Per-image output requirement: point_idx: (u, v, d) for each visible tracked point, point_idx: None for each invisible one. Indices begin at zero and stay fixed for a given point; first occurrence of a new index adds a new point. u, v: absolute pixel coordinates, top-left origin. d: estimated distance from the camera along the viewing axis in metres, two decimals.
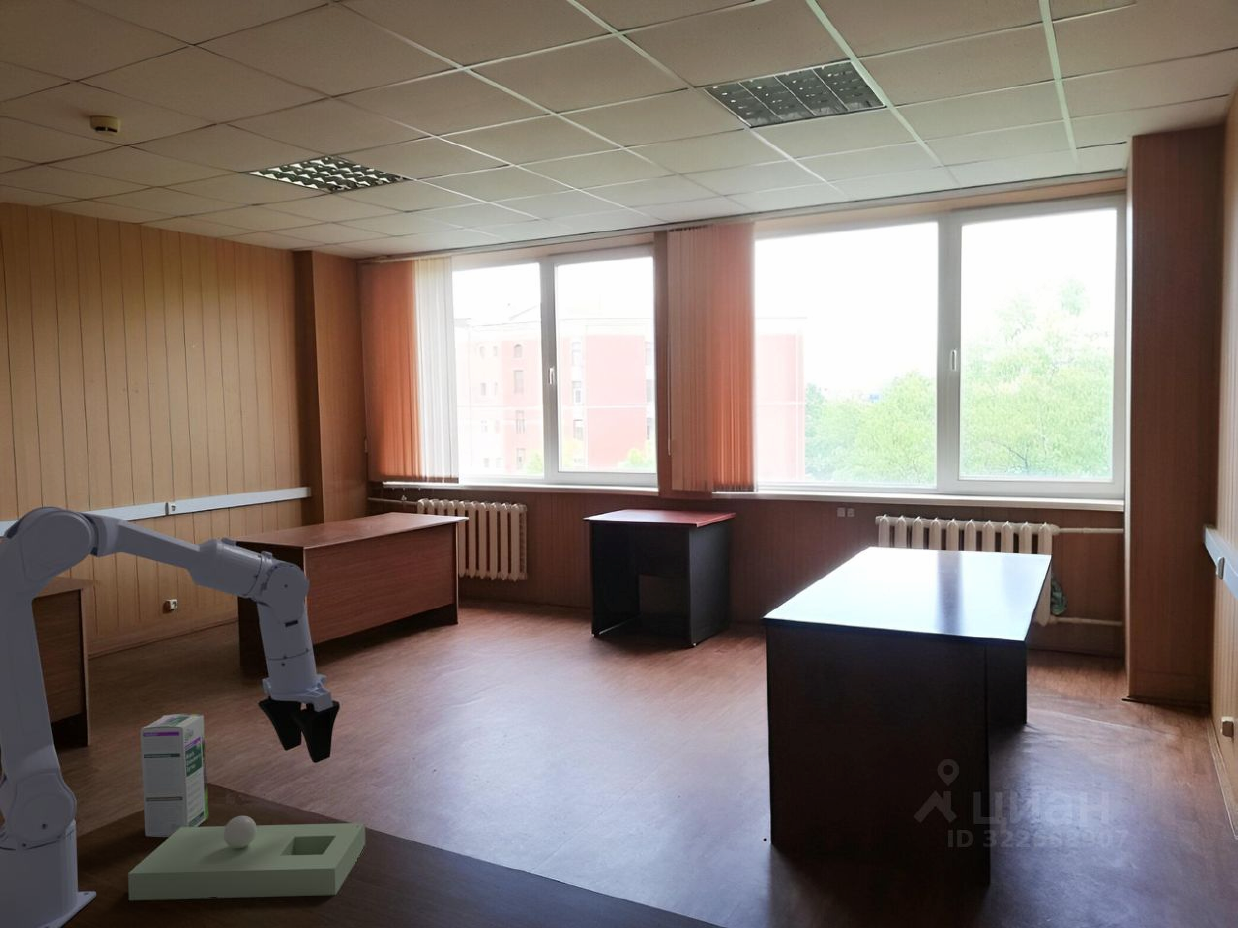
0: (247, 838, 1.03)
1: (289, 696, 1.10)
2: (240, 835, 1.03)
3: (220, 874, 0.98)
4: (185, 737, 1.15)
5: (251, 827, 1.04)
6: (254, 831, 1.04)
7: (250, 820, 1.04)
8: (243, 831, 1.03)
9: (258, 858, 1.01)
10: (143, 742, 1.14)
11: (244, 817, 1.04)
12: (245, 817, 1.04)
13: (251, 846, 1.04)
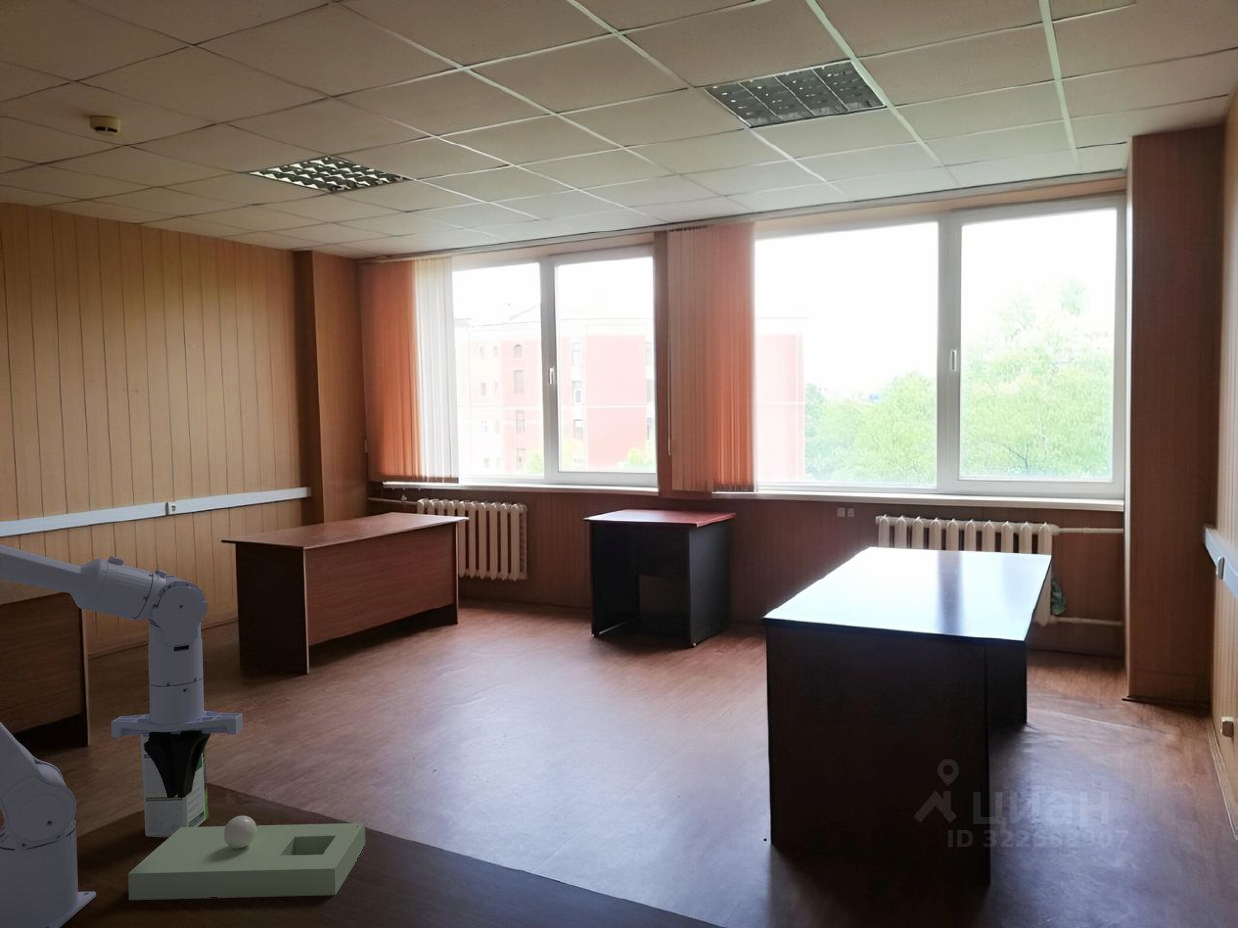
0: (247, 838, 1.03)
1: (192, 724, 1.02)
2: (240, 835, 1.03)
3: (220, 874, 0.98)
4: None
5: (251, 827, 1.04)
6: (254, 831, 1.04)
7: (250, 820, 1.04)
8: (243, 831, 1.03)
9: (258, 858, 1.01)
10: (143, 742, 1.14)
11: (244, 817, 1.04)
12: (245, 817, 1.04)
13: (251, 846, 1.04)
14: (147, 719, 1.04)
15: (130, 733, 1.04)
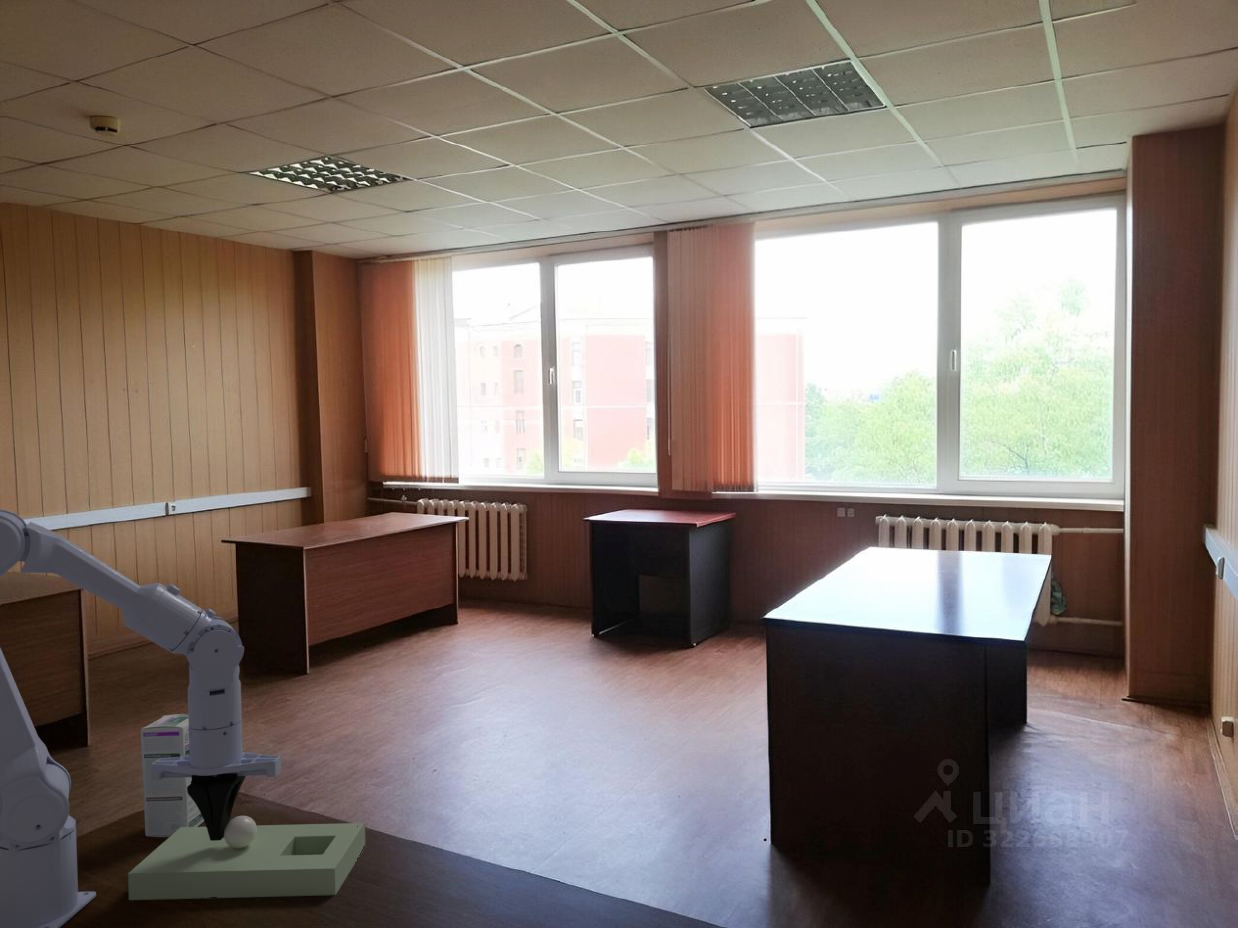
0: (247, 838, 1.03)
1: (232, 767, 1.02)
2: (240, 836, 1.03)
3: (220, 874, 0.98)
4: (185, 737, 1.15)
5: (251, 828, 1.04)
6: (254, 831, 1.04)
7: (250, 820, 1.04)
8: (244, 831, 1.03)
9: (258, 858, 1.01)
10: (143, 742, 1.14)
11: (244, 817, 1.04)
12: (245, 817, 1.04)
13: (251, 846, 1.04)
14: (186, 762, 1.04)
15: (169, 776, 1.04)
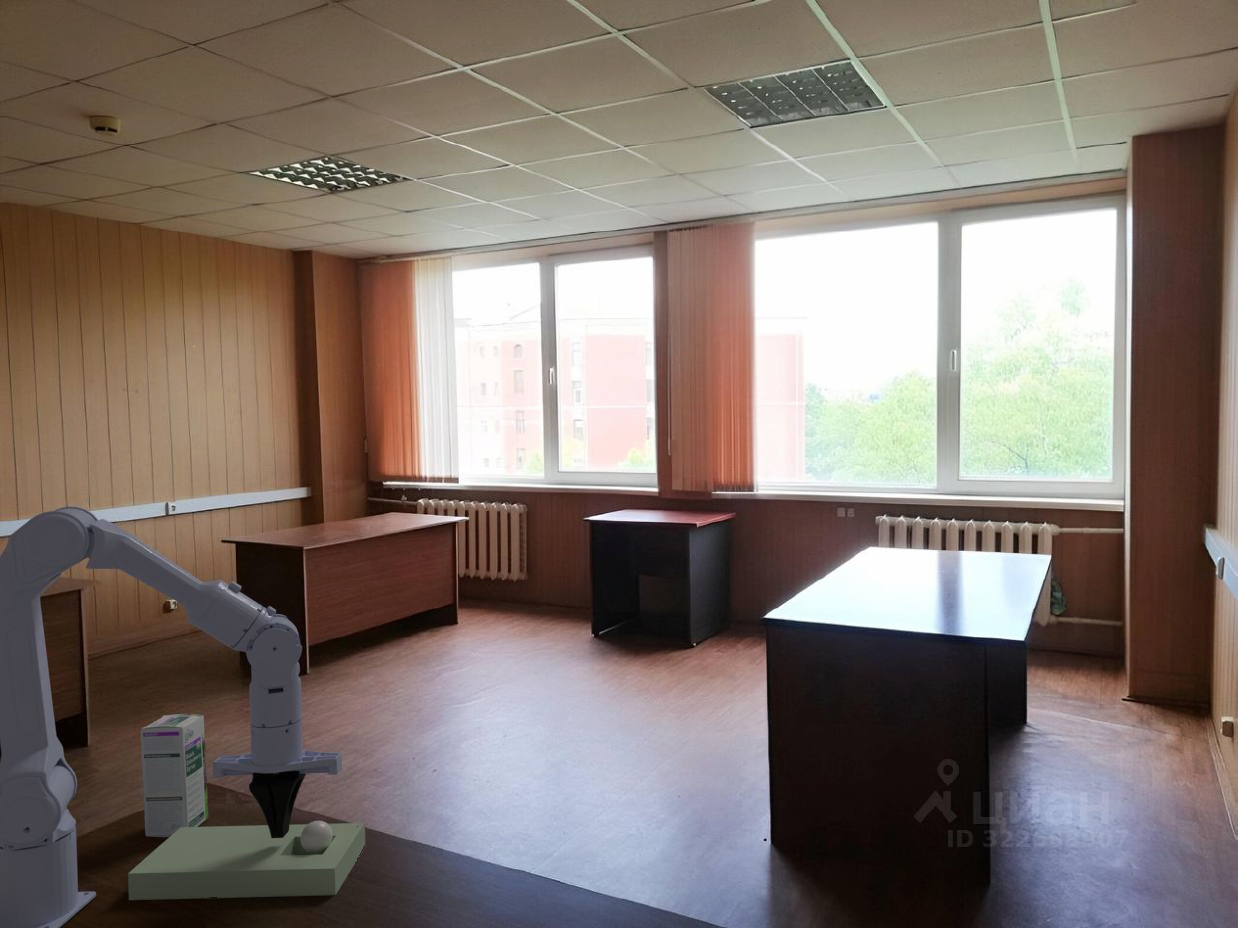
0: (315, 830, 1.03)
1: (295, 765, 1.02)
2: (310, 837, 1.03)
3: (220, 874, 0.98)
4: (185, 737, 1.15)
5: (309, 826, 1.04)
6: (315, 822, 1.04)
7: (306, 826, 1.04)
8: (307, 833, 1.03)
9: (258, 858, 1.01)
10: (143, 742, 1.14)
11: None
12: (303, 830, 1.05)
13: (251, 846, 1.04)
14: (247, 759, 1.04)
15: (231, 773, 1.04)
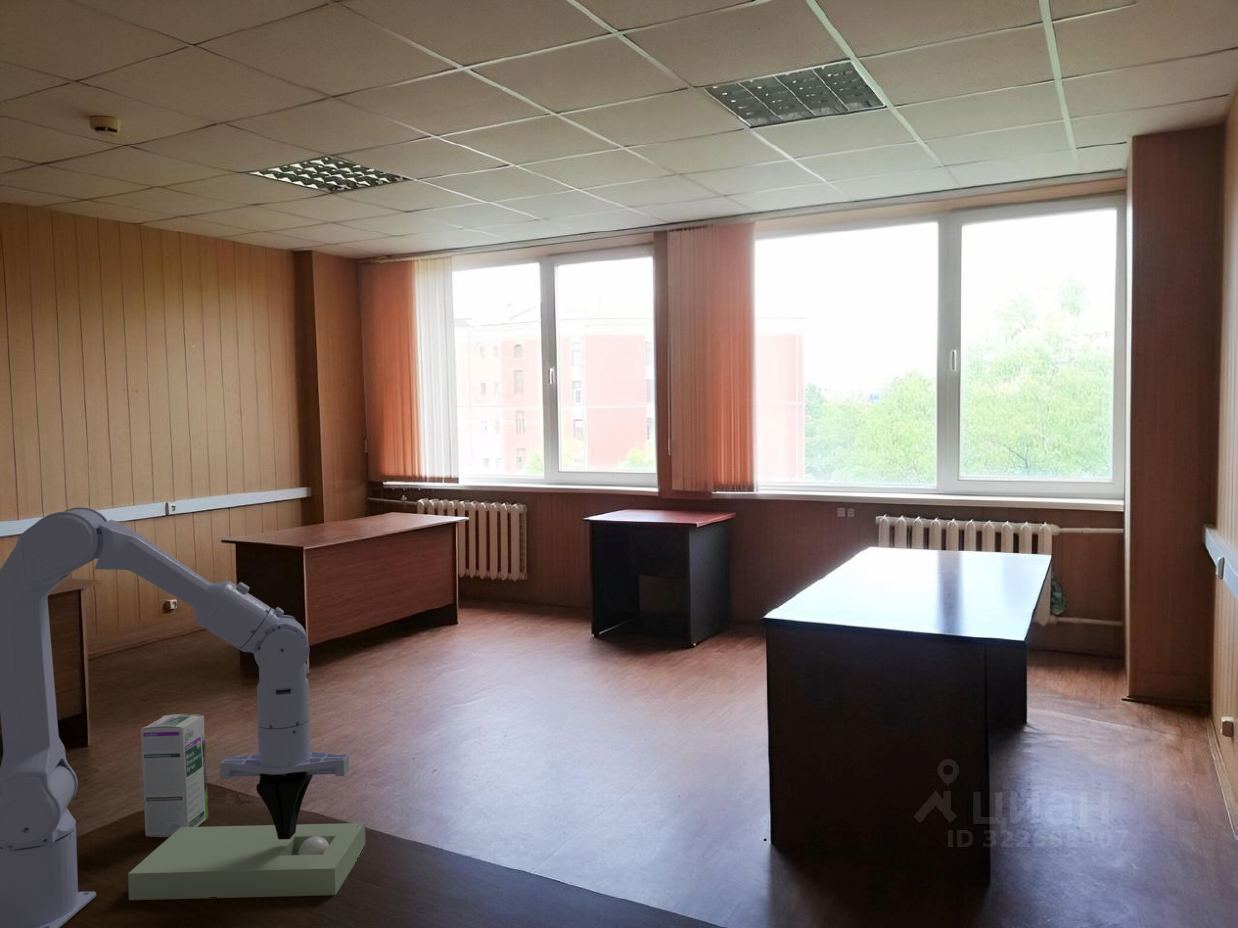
0: (308, 846, 1.03)
1: (302, 766, 1.02)
2: None
3: (220, 874, 0.98)
4: (185, 737, 1.15)
5: (301, 846, 1.04)
6: (306, 840, 1.04)
7: None
8: (301, 853, 1.03)
9: (258, 858, 1.01)
10: (143, 742, 1.14)
11: None
12: None
13: (251, 846, 1.04)
14: (255, 760, 1.04)
15: (238, 774, 1.04)
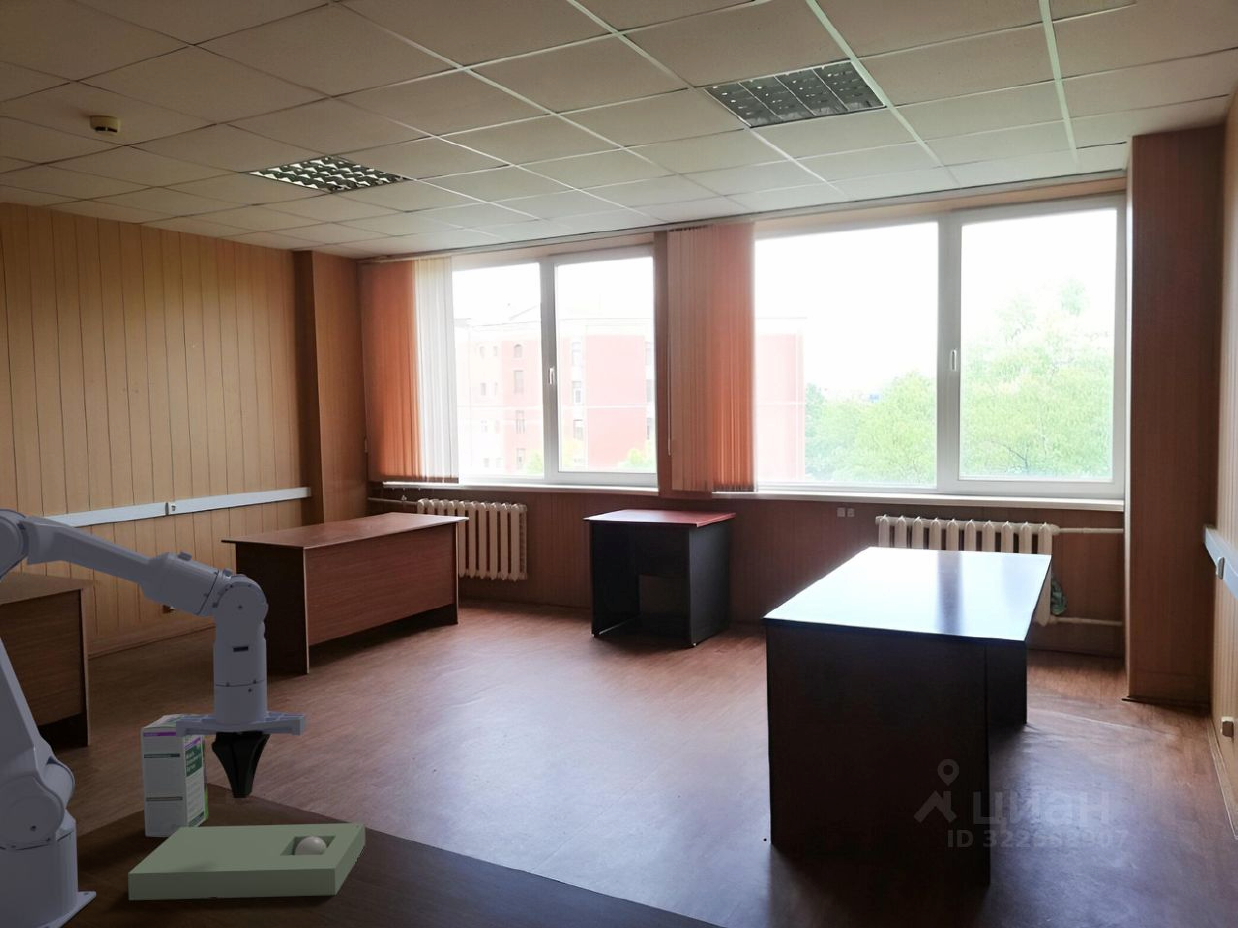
0: (302, 847, 1.03)
1: (257, 724, 1.02)
2: None
3: (220, 874, 0.98)
4: (185, 737, 1.15)
5: (296, 849, 1.04)
6: None
7: None
8: None
9: (258, 858, 1.01)
10: (143, 742, 1.14)
11: None
12: None
13: (251, 846, 1.04)
14: (211, 719, 1.04)
15: (194, 733, 1.04)
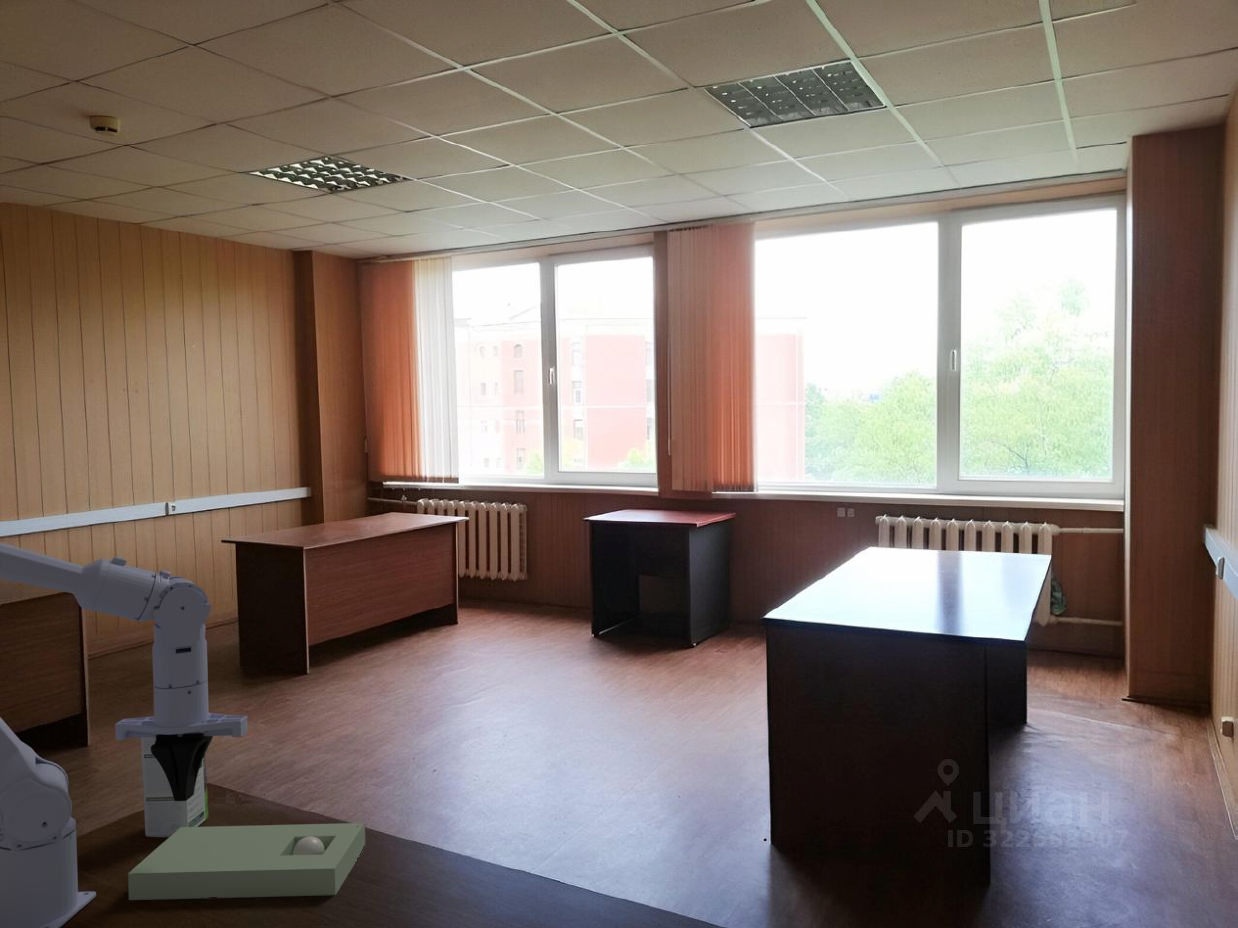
0: (298, 848, 1.03)
1: (197, 726, 1.01)
2: None
3: (220, 874, 0.98)
4: None
5: (293, 851, 1.04)
6: (296, 844, 1.04)
7: None
8: None
9: (258, 858, 1.01)
10: (143, 742, 1.14)
11: None
12: None
13: (251, 846, 1.04)
14: (151, 721, 1.03)
15: (134, 736, 1.03)
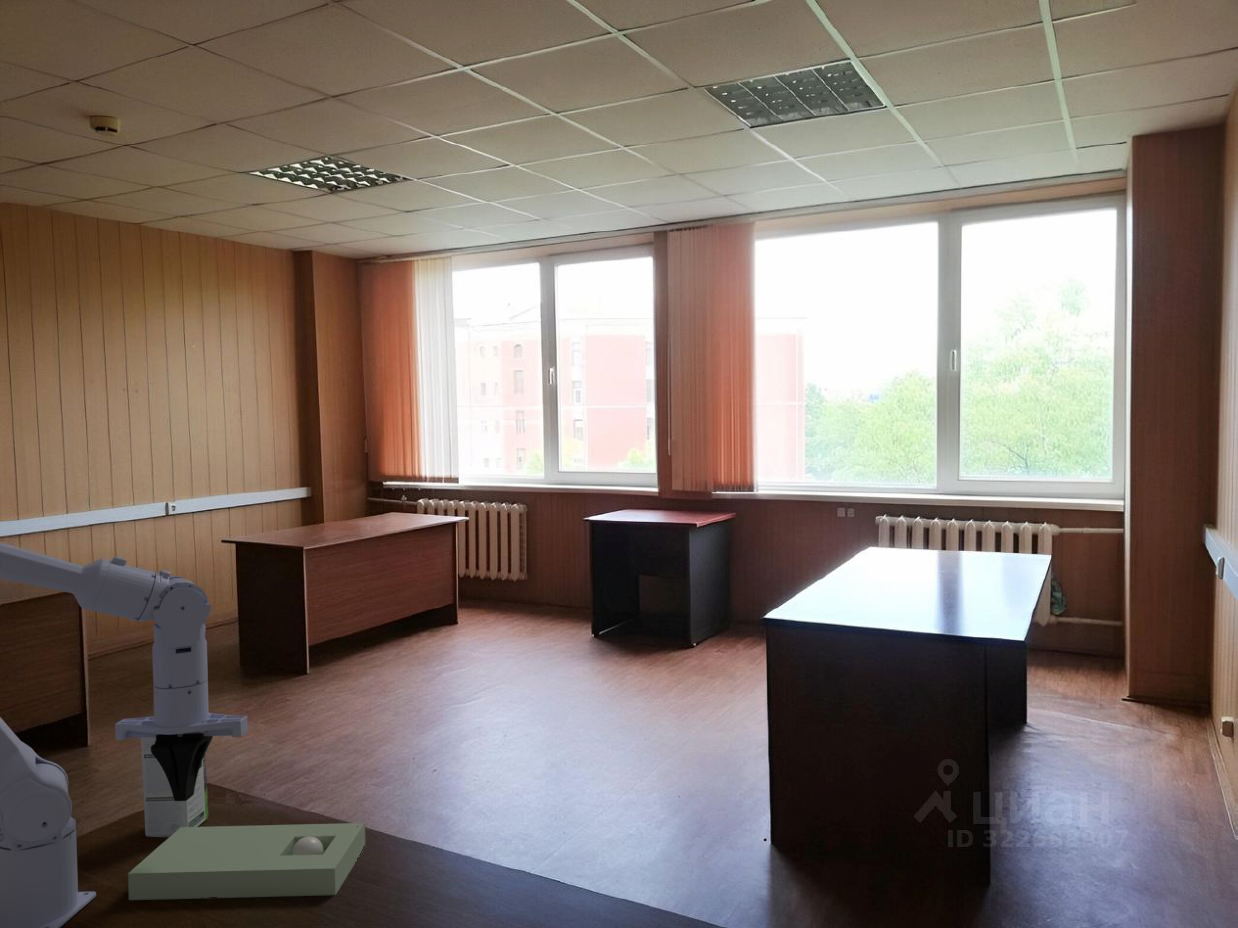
0: (296, 848, 1.03)
1: (197, 726, 1.01)
2: None
3: (220, 874, 0.98)
4: None
5: None
6: (294, 845, 1.04)
7: None
8: None
9: (258, 858, 1.01)
10: (143, 742, 1.14)
11: None
12: None
13: (251, 846, 1.04)
14: (151, 721, 1.03)
15: (134, 736, 1.03)
